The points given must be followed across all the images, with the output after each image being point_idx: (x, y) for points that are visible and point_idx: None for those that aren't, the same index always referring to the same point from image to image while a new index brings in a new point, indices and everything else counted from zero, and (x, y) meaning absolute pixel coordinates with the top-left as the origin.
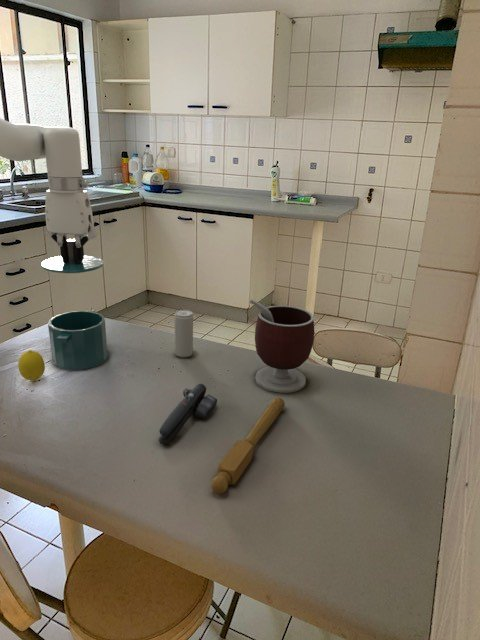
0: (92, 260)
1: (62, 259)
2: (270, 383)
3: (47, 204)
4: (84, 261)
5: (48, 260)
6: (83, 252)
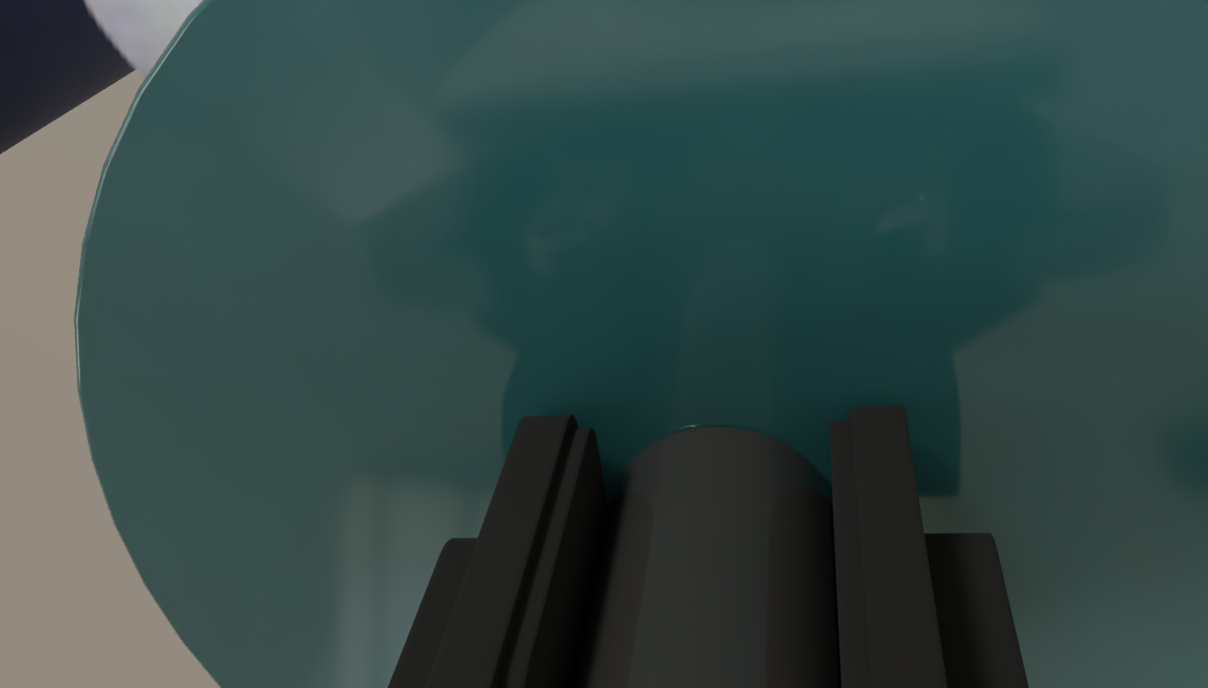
0: (1122, 254)
1: (367, 378)
2: None
3: None
4: (943, 392)
5: (172, 510)
6: (1016, 650)
